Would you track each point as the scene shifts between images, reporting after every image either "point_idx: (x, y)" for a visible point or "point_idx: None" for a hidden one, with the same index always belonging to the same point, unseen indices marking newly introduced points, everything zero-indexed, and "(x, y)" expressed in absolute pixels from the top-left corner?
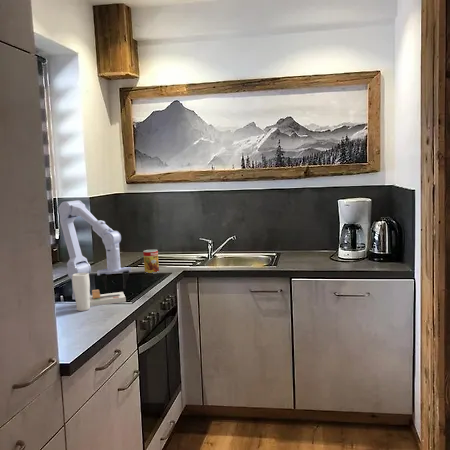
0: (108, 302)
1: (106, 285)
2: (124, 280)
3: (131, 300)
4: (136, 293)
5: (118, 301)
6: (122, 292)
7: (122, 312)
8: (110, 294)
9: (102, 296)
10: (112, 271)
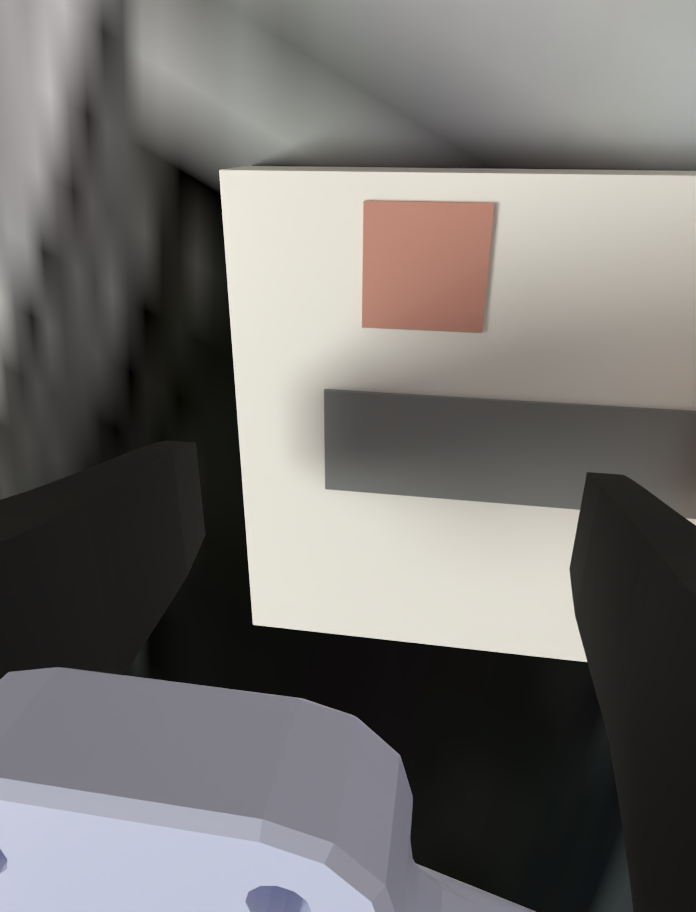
0: (608, 172)
1: (653, 529)
2: (42, 514)
3: (148, 221)
4: None
5: (391, 168)
6: (261, 589)
7: None
8: (481, 570)
9: (668, 492)
10: (407, 845)
